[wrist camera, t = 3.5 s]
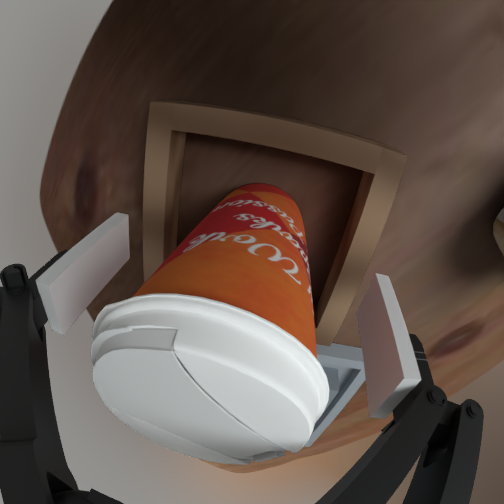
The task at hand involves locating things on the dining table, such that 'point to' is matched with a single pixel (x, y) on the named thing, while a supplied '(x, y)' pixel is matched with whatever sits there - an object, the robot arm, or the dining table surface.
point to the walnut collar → (283, 137)
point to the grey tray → (338, 380)
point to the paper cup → (220, 338)
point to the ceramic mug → (499, 230)
